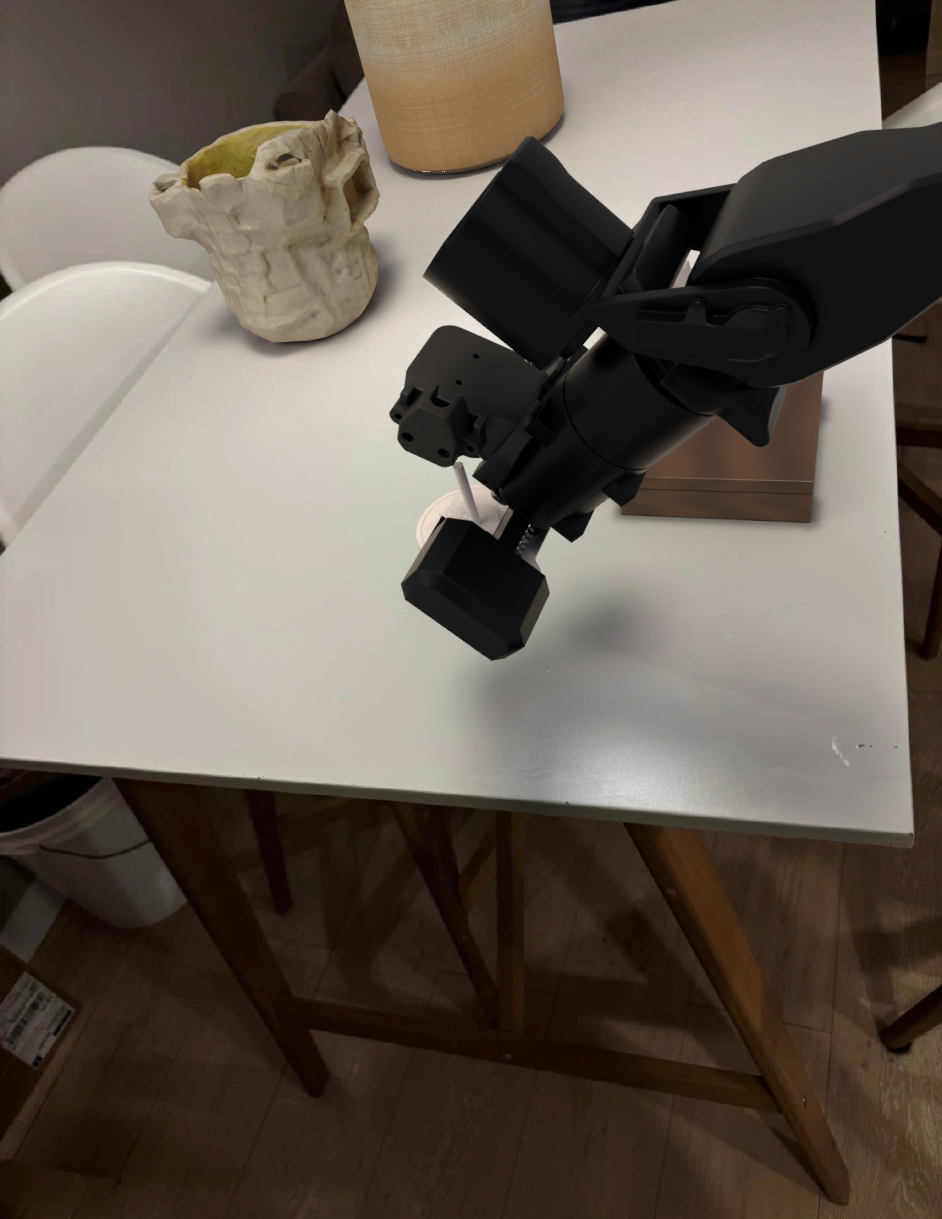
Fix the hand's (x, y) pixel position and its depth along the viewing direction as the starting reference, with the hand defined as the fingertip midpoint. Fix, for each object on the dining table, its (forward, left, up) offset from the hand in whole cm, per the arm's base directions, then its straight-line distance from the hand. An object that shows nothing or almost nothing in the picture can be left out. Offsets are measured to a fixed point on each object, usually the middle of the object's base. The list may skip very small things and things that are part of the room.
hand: (458, 549), depth 52 cm
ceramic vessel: (+36, -50, -13) cm, 63 cm away
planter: (+29, -90, -13) cm, 95 cm away
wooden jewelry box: (-12, -24, -13) cm, 30 cm away
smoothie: (-1, 0, -7) cm, 7 cm away
